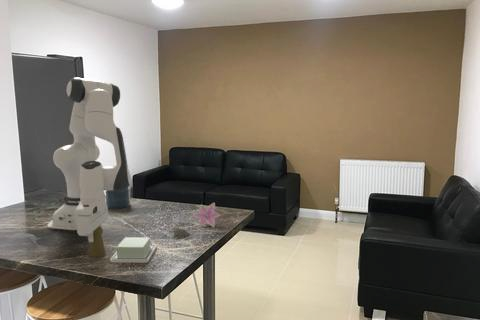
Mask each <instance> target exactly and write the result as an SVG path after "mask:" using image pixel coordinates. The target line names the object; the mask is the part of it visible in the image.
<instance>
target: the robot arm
mask: <svg viewBox="0 0 480 320" xmlns="http://www.w3.org/2000/svg"><path fill="white" fill-rule="evenodd" d="M66 94H67V98H68V99H69V100H70V101H71V102H73V107H72V110H71V116H70V122H69V129H68V130H69V132H70V133H71V134H72V135H73V136H72V137H73V143H72V144H67V145H66V144H65V145H63V146H61V147H59V148H57V149H56V150H55V151H54V153H53V156H52V159H53V160H52V161H53V164H54V165H55V166H56V167H57V168H58V169H60V170H61V172H62V174H63V175H64V178H65V182H66V189H67V190H66V191H67V195H66V196H65V197H64V198H63V199H62V202H64V204H63V205H61V206H60V207H59V208H58V209H57V210H55V211H54V212H53V214H52V217H51V221H49V222H48V223H47V228H48V229H55V230H56V229H57V230H65V231H66V230H68V231H76V232H77V233H76V234H77V235H78V236H79V237H87V240H88V243H90V242H93V241H94V240H95V239H94V238H95V237H94V236H93V231H94V230H95V229H97V228H98V227H101V228H102V227H103V224H104V223H106V221H108V220H109V209H108V207H107V204H106V193H105V191H106V190H114V191H124V190H125V189H127V188H128V187H130V186H131V182H132V181H131V180H132V179H131V172H130V170H129V165H128V161H127V154H126V148H125V142H124V137H123V133H122V131H121V128H119V127H118V126H117V125H116V124H115V121H114V108H115V107H116V106H118V104H119V102H120V99H121V90H120V87H119V86H117V85H116V84H114V83H110V82H109V83H108V82H106V81H102V80H99V79H98V80H97V79H89V78H81V77H72V78H71V79H69V81H68V84H67V85H66ZM96 138H99V139H101V140H103V141H106V142H109V143H110V144H112V146H113V149H114V155H115V162H116V165H114V166H103V164H102V163H101V162H100V161H98V159H99V157H100V154H101V153H100V148H99V146H98V145H97V144H96ZM102 229H103V228H102Z"/></svg>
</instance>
